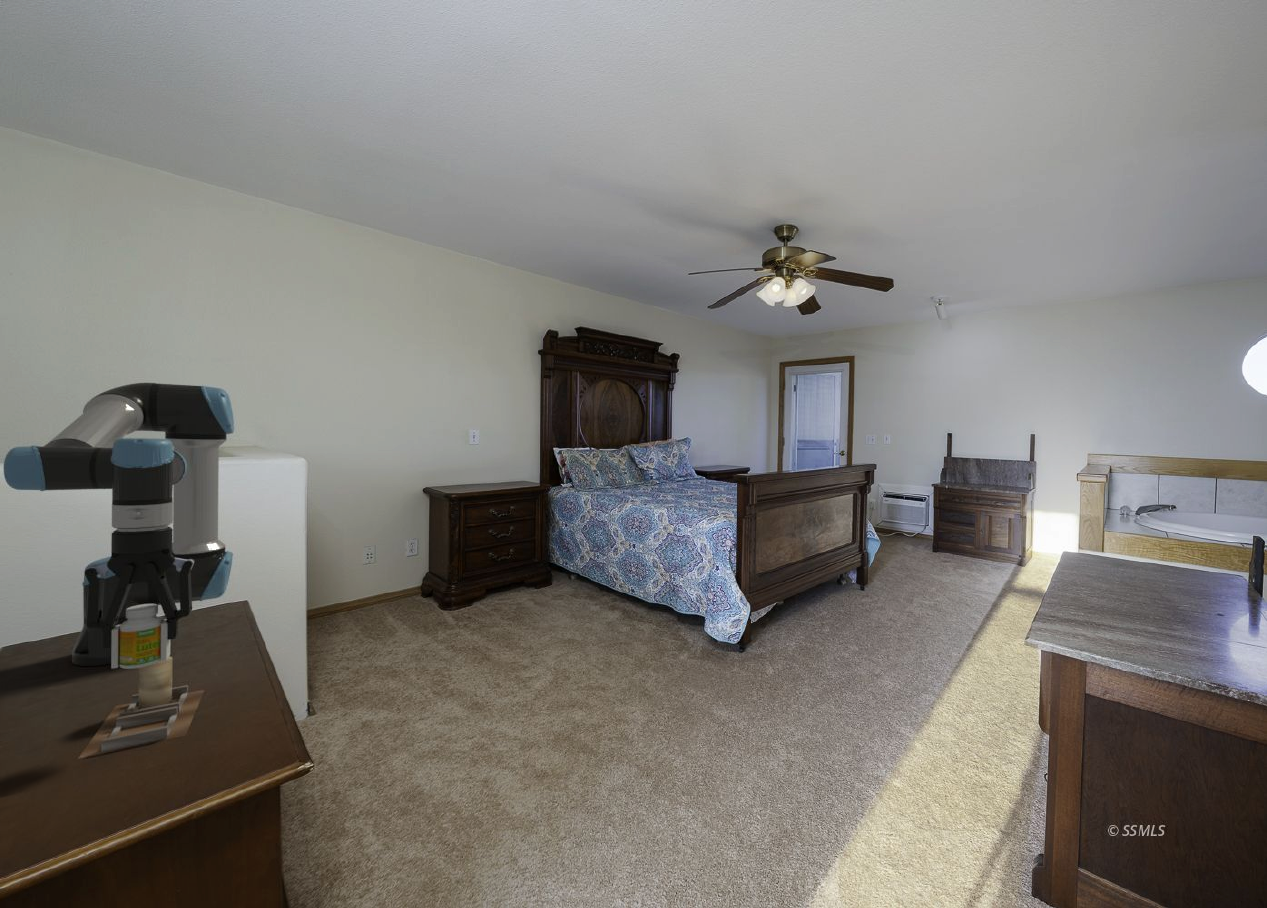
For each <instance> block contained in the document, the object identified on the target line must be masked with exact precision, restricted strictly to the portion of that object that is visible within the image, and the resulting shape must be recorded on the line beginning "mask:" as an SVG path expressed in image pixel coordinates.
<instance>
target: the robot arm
mask: <svg viewBox="0 0 1267 908" xmlns="http://www.w3.org/2000/svg"><path fill="white" fill-rule="evenodd" d="M230 399H231V398H230V396H229V394H228V392H227V391H226V390H225V389H223V388H219V387H214V386H213V387H212V386H208V385H207V386H205V385H192V384H191V385H190V384H189V385H188V384H187V385H186V384H172V383H156V382H136V383H130V384H125V385H121V386H118V387H114V388H111V389H107V390H105V391H103V392H100V393H98V394H96V396H93V397H92V398H91V399H89V400H88V401H87V402H86V403H85V405H84V407H83V408H82V409H83V410H82V414H80V415H79V416H78V417H77V418H76V419H75V420H73V421H72V423H70V424H69V425H68V426H67V427H65V428H64V429H63V430H62V431H61V432H59V433H58V434H56V435H55V436H54V437H53V438H52V439H51V440H50V441H49V442H47V444H44V446H40V445H39V446H37V445H31V446H16V447H13V448H11V449H9V451H8V452H7V454H6V455H5V458H4V462H3V476H4V479H5V482H6V484H7V485H8V486H9V487H10V488H12V489H14V490H18V491H40V492H46V491H74V490H80V491H81V490H111V494H112V495H111V527H112V528H114V529H115V530H113V532H111V541H110V542H111V553H110V556H108V557H107V556H106V557H103V558H100V559H97V560H94V561H92V562H91V563H89V564H87V565H86V567H85V568H84V571H83V573H84V574H83V581H82V583H81V584H82V586H83V587H82V588H83V589H82V590H83V592H82V596H83V597H82V598H83V599H82V600H83V605H82V606H83V608H82V609H83V627H82V628H81V631H80V634H79V636H78V637H77V640H76V642H75V645H74V647H73V649H72V653H71V663H72V664H74V665H76V666H81V667H96V666H104V665H111V667H110V668H111V669H117V668H119V667H120V665H119V657H120V626H121V624H122V623H123V622H125V621H127V620H128V619H127V618H126V609H127V608H129V607H132V606H136V605H142V604H157V605H158V606H161V609H162V611H163V615H164V616H165V619H163V622H162V623H161V661H165V660H167V659H168V657H171V656H170V655H171V640H175V639H176V638H177V636H178V634H179V619H182V618H185V617H188V616H189V615H190V613H191V612H192V611H193V602H203V601H207V600H212V599H219V598H220V597H222V596H224V594H225V593H226V590H227V587H228V585H229V580H230V575H231V572H232V565H233V552H232V551H229V550H227V551H226V544H225V543H223V541H221V540H220V539H219V472H220V471H219V468H220V467H219V461H220V460H219V454H220V453H219V450H220V449H219V448H220V446H221V445H223V444H224V443H225V442H226V441H227V434H228V435H230V434H233V433H234V432H235V425H234V421H235V420H234V415H233V414H234V413H233V412H234V411H233V407H232V404H231V400H230ZM134 432H164V433H165V434H164V437H165V438H143V437H142V438H141V437H139V438H138V437H125V436H126V435H130V434H133V433H134ZM171 524H172V527H170V525H171ZM176 604H179V609H178V607H177V605H176Z"/></svg>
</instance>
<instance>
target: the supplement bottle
mask: <svg viewBox="0 0 1267 908" xmlns="http://www.w3.org/2000/svg"><path fill="white" fill-rule="evenodd" d="M157 614H159V605H157V604H142V605H136V606H132V607H129V608H127V609H126V618H127V619H128V620H127V621H125V622H123V623H122V624H121V626H120V657H119V665H120V666H119V667H120V669H121V668H122V669H124V670H131V669H132V670H134V669H139V668H141V667H146V666H149V665H152V664H155V663H157V662H159V661H160V660H161V623H162V622H163V621H164V619H163V617H162V616H160V615H157Z"/></svg>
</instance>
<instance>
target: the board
mask: <svg viewBox="0 0 1267 908" xmlns="http://www.w3.org/2000/svg"><path fill="white" fill-rule="evenodd" d="M204 692H205V689H201V690H195V691H190V692H189V685H188V684H185V685H180V686H174V687H172V703H170V704H165V705H160V706H154V707H149V708H144V709H139V693H136V694H132V695H131V702H130V703H125V704H124V703H123V704H120V705H115V706H114V707H113V709H112V711H110V713H109V714H108V716H107V718H105V720H104V722H103V723H101V726H100V727H99V728H98V730H97V732H96V733H94V736H93V737H92V738H91V740H90V741H89V743H87V745H86V747H85V748H84V749H83V751H82V752H81V754H80V755H79V757H78V758H77V760H80V759H86V758H89V757H94V756H99V755H103V754H107V753H112V752H117V751H122V750H125V749H130V748H131V749H132V748H137V747H139V746H144V745H149V744H153V743H158V742H163V741H168V740H172V739H178V738H181V737H182V738H183V737H185V736H186V735H187V733H188V730H189V728H190V725H191V723H192V721H193V719H194V716H195V713H196V711H197V710H198V707H199V705H200V702H201V700H202V697H203V695H204Z"/></svg>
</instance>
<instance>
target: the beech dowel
mask: <svg viewBox="0 0 1267 908" xmlns="http://www.w3.org/2000/svg"><path fill="white" fill-rule="evenodd" d="M172 688H173V657H172V656H169V657H168V659H167V660H165V661H161V660H160V661H159V662H157V663H155V664H152V665H149V666H146V667H141V668H138V694H139V709H144V708H149V707H154V706H160V705H165V704H170V703H172Z"/></svg>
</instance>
